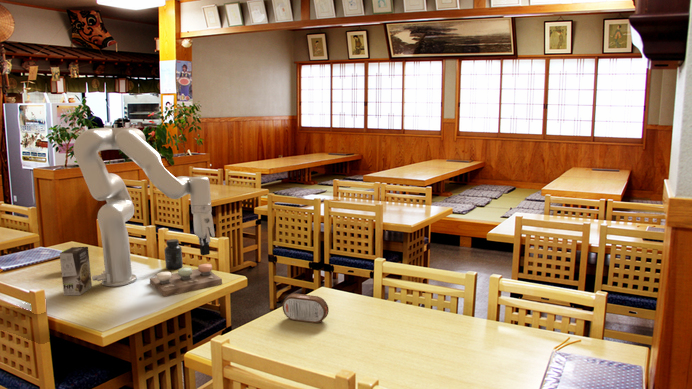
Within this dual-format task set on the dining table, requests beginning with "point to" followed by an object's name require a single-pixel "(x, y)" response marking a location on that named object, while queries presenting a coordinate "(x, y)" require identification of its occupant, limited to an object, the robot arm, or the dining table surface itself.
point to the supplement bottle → (173, 255)
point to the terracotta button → (205, 269)
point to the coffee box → (75, 270)
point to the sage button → (185, 273)
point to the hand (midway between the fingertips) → (205, 254)
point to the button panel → (186, 283)
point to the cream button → (164, 277)
